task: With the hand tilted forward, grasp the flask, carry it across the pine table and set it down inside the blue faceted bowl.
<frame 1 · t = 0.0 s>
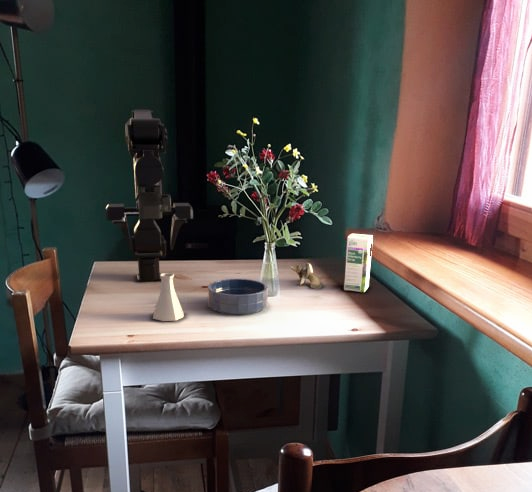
hand: (151, 249, 140), 15 cm above the table, tool pointing down, fingers open, 9 cm apart
flask: (168, 317, 141), on the table
syrup box: (356, 289, 166), on the table
animal figurine: (307, 285, 169), on the table
blue faceted bowl: (237, 306, 149), on the table
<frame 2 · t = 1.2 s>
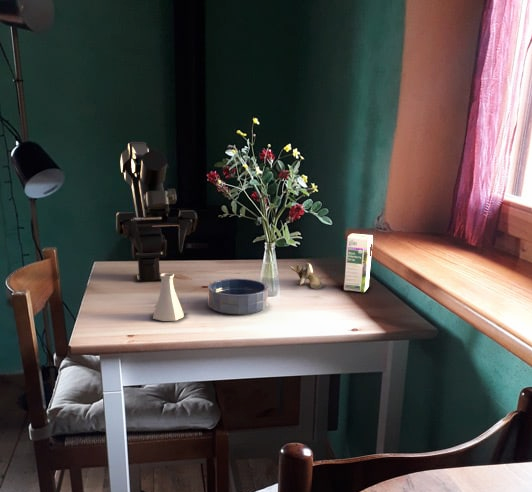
hand: (161, 252, 143), 13 cm above the table, tool tilted 45°, fingers open, 9 cm apart
nothing on the table moved.
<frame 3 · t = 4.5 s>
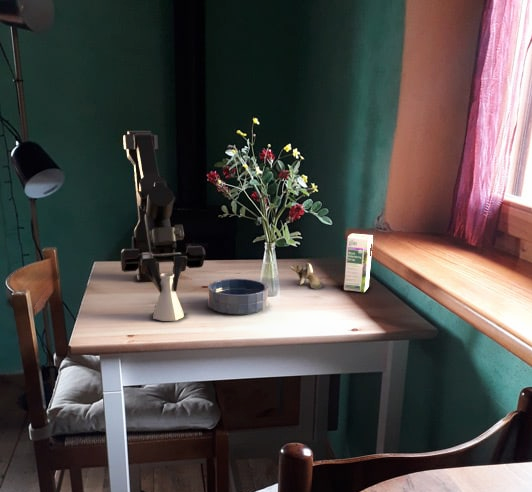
hand: (168, 291, 138), 7 cm above the table, tool tilted 45°, fingers closed on flask, 3 cm apart
flask: (168, 317, 141), on the table, touching gripper
everything else where it was.
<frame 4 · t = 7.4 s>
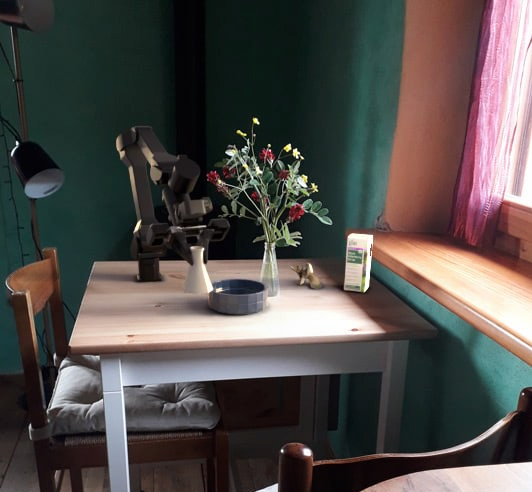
hand: (199, 264, 138), 12 cm above the table, tool tilted 45°, fingers closed on flask, 3 cm apart
flask: (197, 291, 142), point 6 cm above the table, touching gripper
everything else where it was.
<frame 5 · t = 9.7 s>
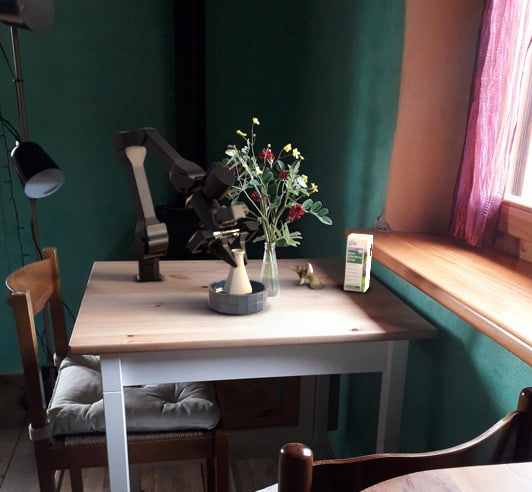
hand: (241, 265, 145), 10 cm above the table, tool tilted 45°, fingers closed on flask, 3 cm apart
flask: (237, 292, 148), point 4 cm above the table, touching gripper
everything else where it was.
when the fingers open (7 cm above the table, at t = 10.9 s): flask stays where it is, resting on blue faceted bowl.
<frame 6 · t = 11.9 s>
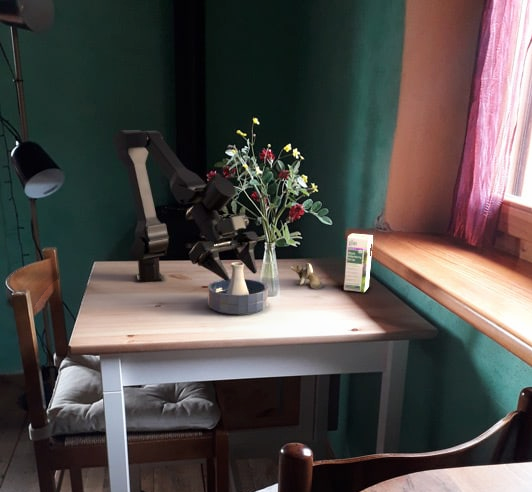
hand: (242, 276, 146), 8 cm above the table, tool tilted 45°, fingers open, 9 cm apart
flask: (237, 304, 149), resting on blue faceted bowl
everything else where it was.
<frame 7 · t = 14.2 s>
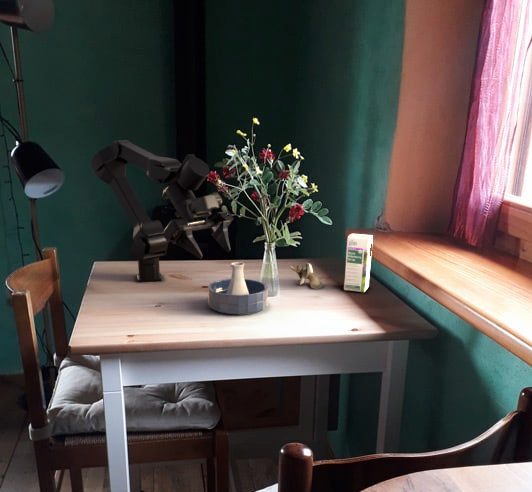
hand: (215, 254, 150), 12 cm above the table, tool tilted 45°, fingers open, 9 cm apart
nothing on the table moved.
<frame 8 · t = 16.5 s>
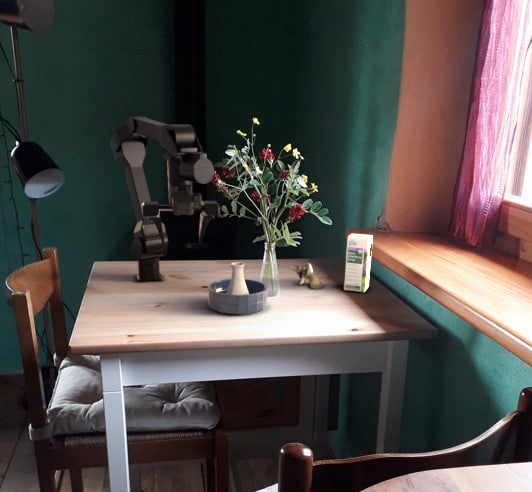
hand: (181, 243, 154), 13 cm above the table, tool pointing down, fingers open, 9 cm apart
nothing on the table moved.
at the end: flask inside the target area in the blue faceted bowl (0.2 cm from its centre), point 0.4 cm above the blue faceted bowl's base; flask tilted 0°; the gripper is holding nothing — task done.
